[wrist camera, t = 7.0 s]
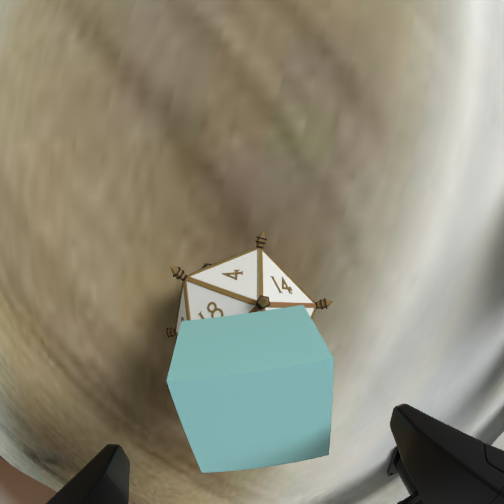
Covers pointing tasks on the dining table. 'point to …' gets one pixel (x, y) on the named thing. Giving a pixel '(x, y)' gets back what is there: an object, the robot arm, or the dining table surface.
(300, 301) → the game die
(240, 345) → the teal block
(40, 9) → the dining table surface
